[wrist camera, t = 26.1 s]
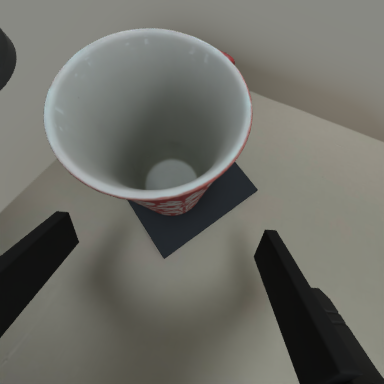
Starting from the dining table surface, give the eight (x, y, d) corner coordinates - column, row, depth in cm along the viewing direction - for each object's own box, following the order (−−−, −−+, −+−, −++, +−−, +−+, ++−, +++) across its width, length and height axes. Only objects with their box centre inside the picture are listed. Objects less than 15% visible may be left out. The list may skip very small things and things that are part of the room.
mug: (179, 241, 18) (168, 252, 5) (119, 194, 20) (-10, 111, 7) (237, 160, 21) (320, 44, 8) (182, 124, 23) (181, -29, 10)
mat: (106, 164, 21) (103, 162, 21) (193, 114, 24) (194, 111, 23) (164, 258, 18) (163, 258, 18) (256, 191, 21) (258, 189, 21)
